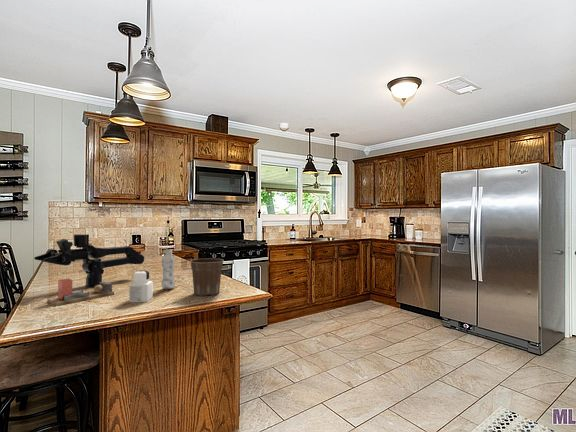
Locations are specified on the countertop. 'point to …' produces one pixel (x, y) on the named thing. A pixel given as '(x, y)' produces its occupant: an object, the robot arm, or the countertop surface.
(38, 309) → the countertop surface
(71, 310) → the countertop surface
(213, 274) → the plant pot
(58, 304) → the nutcracker base
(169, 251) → the plastic bottle
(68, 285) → the block
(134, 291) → the container
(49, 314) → the countertop surface
